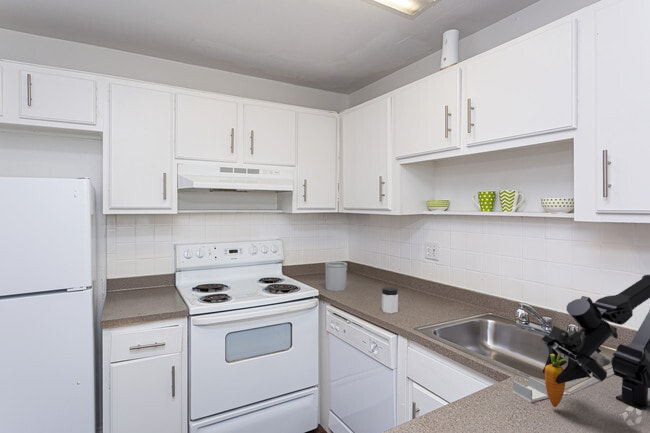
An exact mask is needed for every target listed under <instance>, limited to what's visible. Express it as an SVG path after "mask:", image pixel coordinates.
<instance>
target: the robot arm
mask: <svg viewBox="0 0 650 433" xmlns="http://www.w3.org/2000/svg"><path fill="white" fill-rule="evenodd" d="M649 299H650V274H644V275H643V276H642V277H641V279H640V280H639V279H638V281H636V282H635V283H633V284H632V285H630V286H628V287H627V288H625V289H624V290H622V291H621V292H619V293H617V294H615V295H607V296H603V297H600V298H598V299H596V300H595V301H594V302H593V300H592V299H591V297H589V296H584V295H582V296H581V297H580V298H577V299H573V300H572V301H570V302H568V303H567V305H566V312H567V313H568V315H570V317H571V318H572V319H573V321H574V322H575V323H576V324H577V325H578V327H580V329H579V330H572V329H571V330H569V331H566V330H564V329H561V328H560V327H558V326H556V325H553V326H552V327H551V329H550V332H549V333H548V334H545V335H544V336H543V337H542V338H541V341H542V342H543V343H544V344H545V345H546V347H547V350H548V357H547V359H546V361H545V364H544V367H543V369H542V373H543V374H544V375H545V366H547V365H550V364H552V361H551V357H550V354H554V355H555V361H556V360H557V356H558V354H561V356H560V359H559V361H560V360H561V359H564V357H567V358H568V359H567V360H566V361H564V362H562V363H561V364H560V365H559V366H561V367H562V366H564V365H566V366H565V368H563V369H564V370H563V371H562V372H561V373H560V375H559V376H558V377H557V379H556V380H555V382H556V383H557V384H561V383H564V382H565V383H567V382H572V381H575V380H580V379H584V378H585V379H586V378H588V379H591V378H592V377H593V378H594V379H596V380H598V382H599V381H600V382H603V381H604V380H605V379H606V378H607V377H608V371H607V370H606V369H605V368H604V367H603V366H602V365H601V364H600V363H599V362H598V361H597V360H596V359H595V358H593V357H591V356H592V355H593V354H594V353H597V354H600V353H601V352H602V350H601V349H600V347H601V346H602V345H603V344H604V343H605V342H606V341H607V340H608V339H609V338H611V337H612V338H613V339H618V337H619V334H618V332H617V330H618V328H617V327H614V326H612V325H610V323H612V324H616V325H620V326H622V325H625V323H627V322H628V321H629V320H630V319H631V318H632V317H633V315H634V312H633V310H635V309H636V308H637V307H638V306H640V305H642V304H643V303H644V302H646V301H647V300H649ZM609 322H610V323H609ZM610 362H611V367H612V371H613V375H614V376H616V377H618V378H621V379H622V380H621V394H619V395H616V396H615V399H616V400H619V401H620V402H623V403H625V404H628V405H629V406H632V407H635V408H637V409H640V410H643V409H647V408H649V407H650V400H649V389H650V309H649V310H648V313H647V314H646V316H645V318H644V319H643V321H642V322H641V325H640V326H639V328H638V330H637V331H636V333H635V335H634V336H633V338H632V341H631V342H630V343H628V344H626V345H625V344H622V343H621V344H619V345H618V346H617V348H616V350H615V352H614V353H612V357H611V359H610ZM591 375H592V376H591Z"/></svg>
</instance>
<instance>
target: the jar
mask: <svg viewBox="0 0 650 433" xmlns="http://www.w3.org/2000/svg"><path fill="white" fill-rule="evenodd" d="M398 293H399V292H398V288H396V287H393V286H391V287H390V286H388V287H387V286H385V287H382V289H381V311H382V312H383V313H387V314H396V313H398V311H399V294H398Z"/></svg>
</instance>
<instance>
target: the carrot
mask: <svg viewBox="0 0 650 433" xmlns="http://www.w3.org/2000/svg"><path fill="white" fill-rule="evenodd" d="M560 356H561V354H558V356H557V360H556V361H555V355H554V354H550V357H551V361H552V364H550V365H547V366H545V365H544V367H545V374H544V382H545V383H544V384H546V390H547V394H548V397H549V398H548V399H549V402H550V404H551V405H552V406H553V408H556V407H558V405H559V404H560V403H561V402H562V399H563V397H564V393H565V389H566V388H565V387H566V382H564V383H561V384H557V383H556V382H555V380H556V379H557V377H558V376H559V375H560V373H561V372H562V371H563V370H564V369H565V368H564V367H562V366H559V365H560V364H561V363H562V362H564V361H566V362H567V360H566V359H565V358H563V359H561V360H560V361H559V359H560Z"/></svg>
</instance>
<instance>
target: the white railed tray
mask: <svg viewBox="0 0 650 433" xmlns="http://www.w3.org/2000/svg"><path fill="white" fill-rule="evenodd" d="M512 393H513V394H514V395H515V396H518V397H520V398H522V399H523V400H525V401H527V402H529V403H535V402H538V401H541V400H545V399H549V397H548V394H547V390H546V384H545V383H543V382H542V381H539V380H537V379H535V378H533V377H531V376H529V377H528V385H527V386H525V385H523V384H521V383H520V382H518V381H516V380H512Z"/></svg>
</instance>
